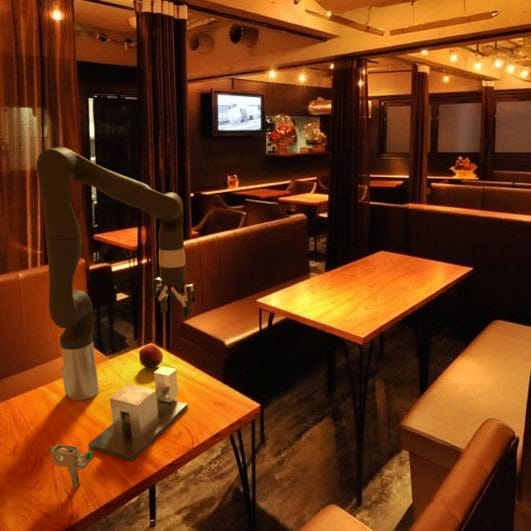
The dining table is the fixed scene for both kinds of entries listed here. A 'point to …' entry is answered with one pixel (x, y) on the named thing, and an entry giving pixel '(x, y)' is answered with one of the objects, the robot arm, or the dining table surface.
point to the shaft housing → (136, 422)
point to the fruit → (150, 356)
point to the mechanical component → (71, 460)
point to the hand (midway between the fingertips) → (175, 314)
